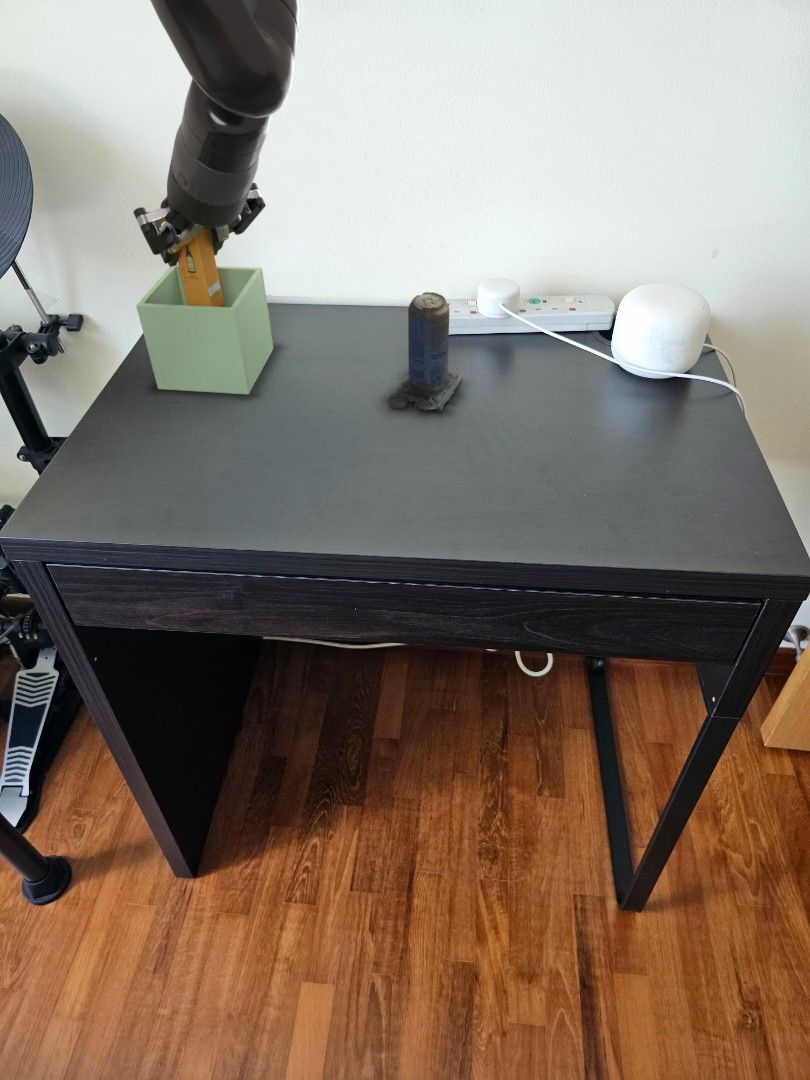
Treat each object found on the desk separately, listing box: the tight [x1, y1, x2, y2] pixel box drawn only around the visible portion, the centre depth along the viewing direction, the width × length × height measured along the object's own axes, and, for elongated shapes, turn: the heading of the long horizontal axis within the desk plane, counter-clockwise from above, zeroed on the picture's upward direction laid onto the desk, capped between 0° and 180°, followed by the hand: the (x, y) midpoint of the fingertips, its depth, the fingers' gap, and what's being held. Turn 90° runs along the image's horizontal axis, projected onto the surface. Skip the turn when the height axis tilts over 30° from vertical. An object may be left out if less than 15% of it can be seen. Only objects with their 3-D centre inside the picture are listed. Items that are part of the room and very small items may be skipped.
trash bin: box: [135, 264, 275, 395], centre depth 94 cm, size 11×11×11 cm
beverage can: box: [387, 291, 463, 413], centre depth 88 cm, size 9×8×12 cm
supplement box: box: [177, 229, 224, 307], centre depth 89 cm, size 3×3×10 cm
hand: (189, 253), depth 89 cm, fingers open, 4 cm apart
